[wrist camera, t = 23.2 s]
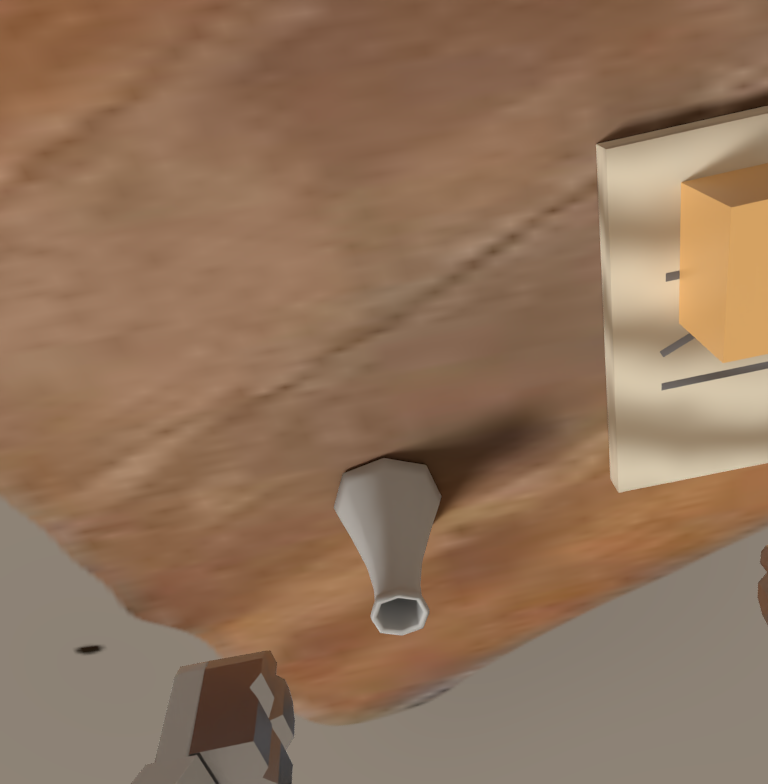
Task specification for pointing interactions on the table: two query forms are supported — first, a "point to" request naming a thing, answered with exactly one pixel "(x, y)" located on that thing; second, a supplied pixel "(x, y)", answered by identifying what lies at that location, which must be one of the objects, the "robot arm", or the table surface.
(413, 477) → the flask
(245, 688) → the robot arm
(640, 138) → the birch board
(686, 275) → the block
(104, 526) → the table surface
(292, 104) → the table surface
